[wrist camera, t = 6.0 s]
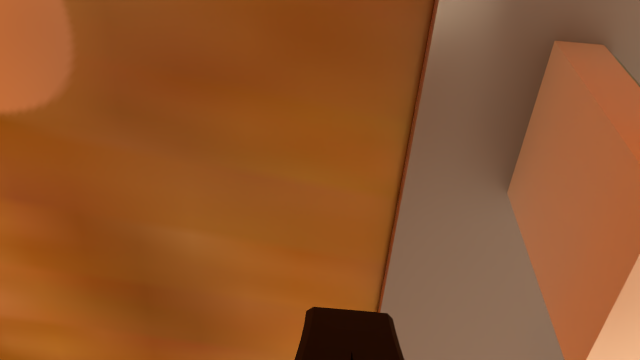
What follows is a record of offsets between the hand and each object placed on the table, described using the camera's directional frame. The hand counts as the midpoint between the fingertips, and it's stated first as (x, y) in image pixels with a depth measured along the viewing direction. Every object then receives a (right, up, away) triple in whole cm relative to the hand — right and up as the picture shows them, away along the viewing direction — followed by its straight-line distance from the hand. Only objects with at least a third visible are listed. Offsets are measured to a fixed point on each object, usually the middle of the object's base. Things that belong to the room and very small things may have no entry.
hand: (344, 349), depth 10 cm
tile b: (+6, +4, +7) cm, 11 cm away
